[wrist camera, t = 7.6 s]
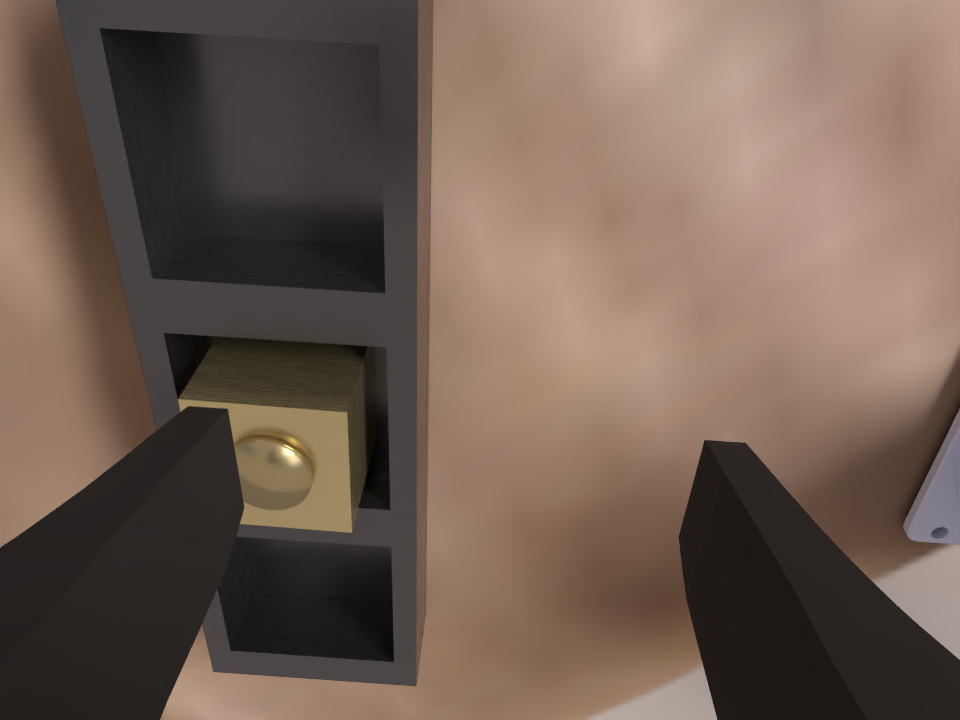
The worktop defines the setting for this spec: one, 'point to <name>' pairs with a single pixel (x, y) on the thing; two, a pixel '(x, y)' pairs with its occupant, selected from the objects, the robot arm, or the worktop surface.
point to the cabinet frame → (281, 272)
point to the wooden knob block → (294, 426)
